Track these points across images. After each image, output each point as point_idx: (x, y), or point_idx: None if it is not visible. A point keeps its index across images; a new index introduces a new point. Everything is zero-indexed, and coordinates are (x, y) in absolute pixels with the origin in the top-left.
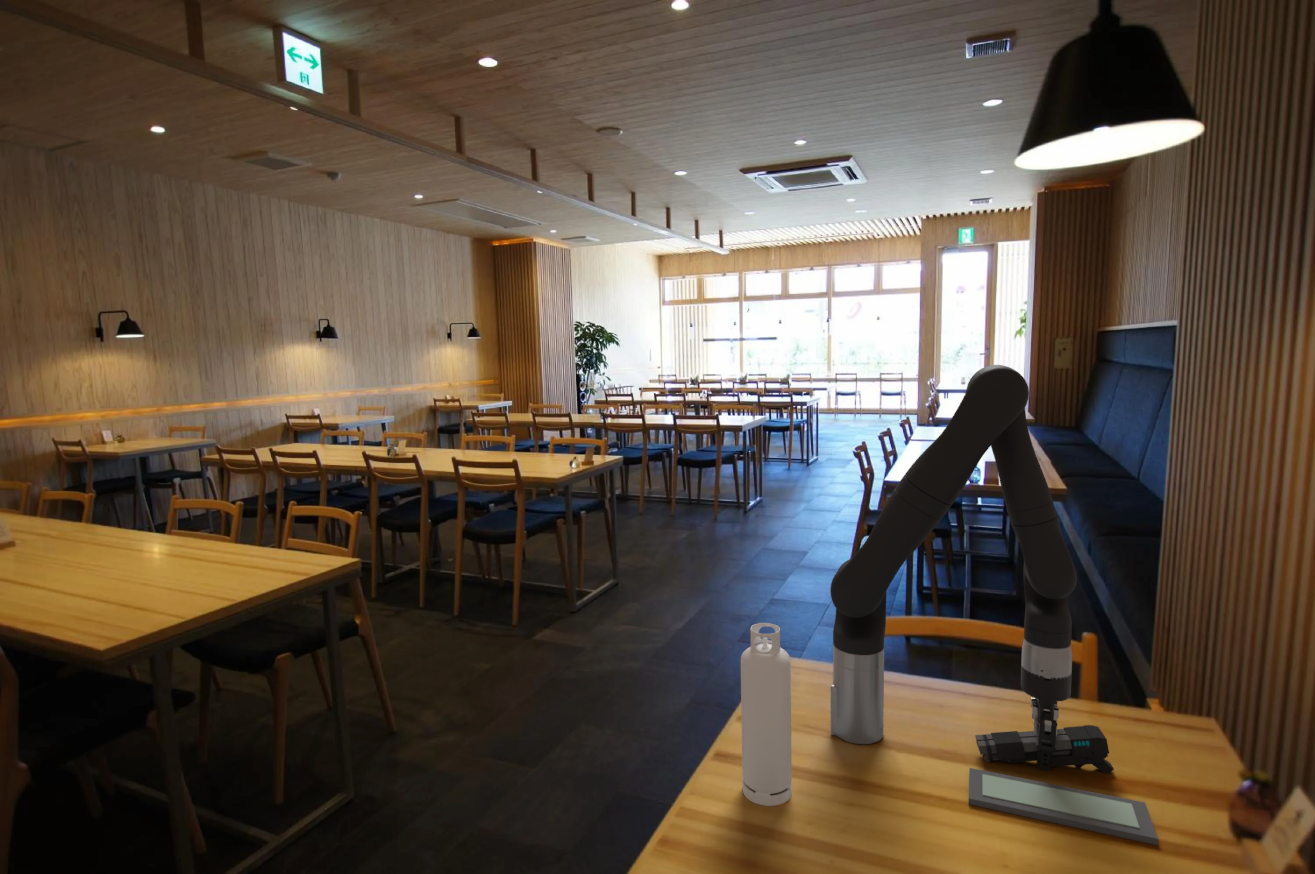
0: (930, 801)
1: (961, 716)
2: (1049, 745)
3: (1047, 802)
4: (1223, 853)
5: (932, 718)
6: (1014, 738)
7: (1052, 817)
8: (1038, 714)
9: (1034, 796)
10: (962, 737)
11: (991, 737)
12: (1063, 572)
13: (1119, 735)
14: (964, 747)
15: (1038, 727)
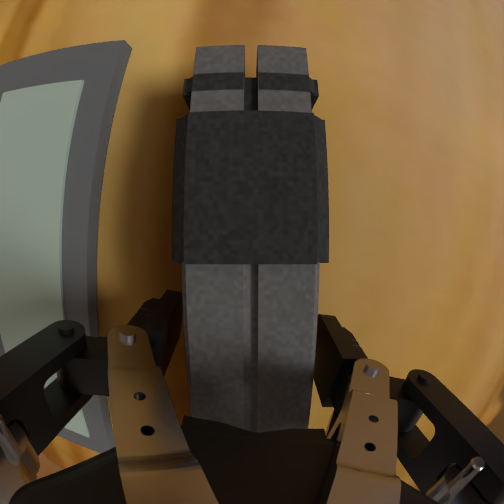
0: (27, 2)
1: (494, 119)
2: (62, 381)
3: (3, 262)
4: (61, 464)
5: (459, 30)
6: (231, 227)
7: None
8: (94, 489)
9: (12, 233)
10: (383, 65)
11: (273, 108)
12: None
13: (397, 465)
14: (313, 50)
15: (346, 376)
